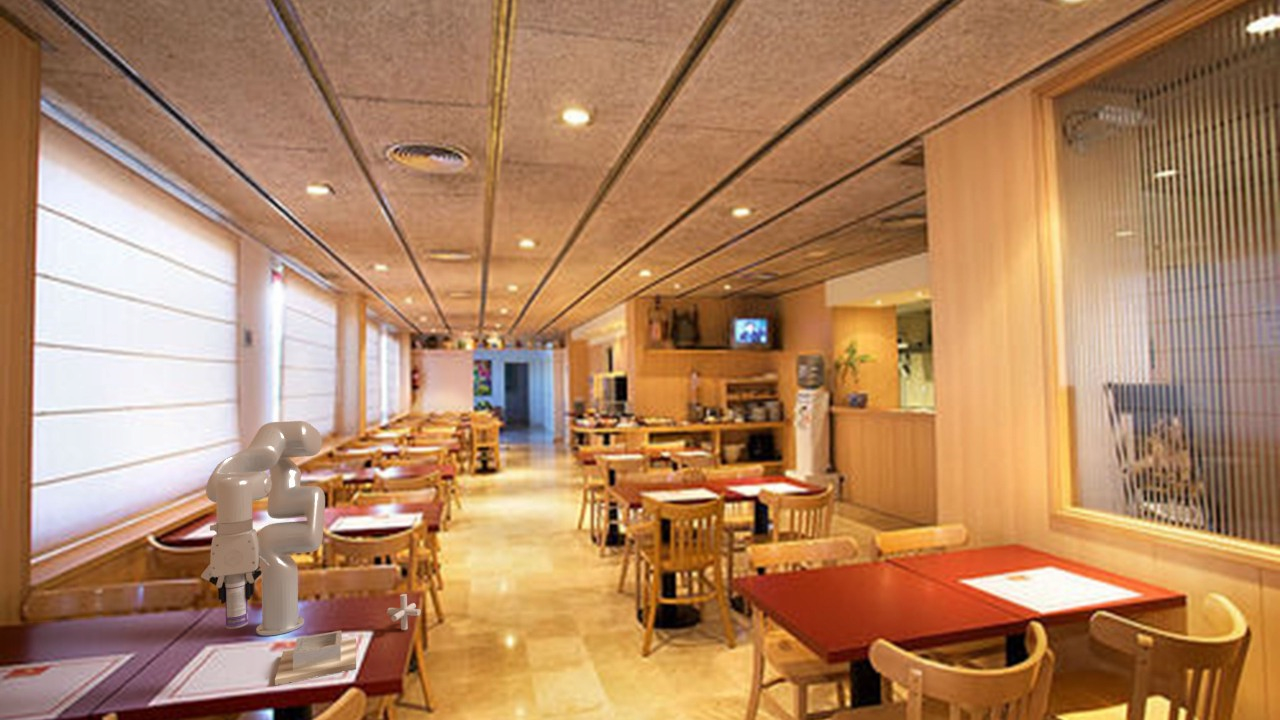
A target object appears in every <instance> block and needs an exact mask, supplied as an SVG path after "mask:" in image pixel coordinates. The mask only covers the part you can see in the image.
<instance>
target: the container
mask: <svg viewBox="0 0 1280 720" xmlns="http://www.w3.org/2000/svg"><path fill="white" fill-rule="evenodd" d="M247 581H248V579H247V576H246V573H244V574H237V575H230V576H225V581H224V582H225V603H224V604H225V628H226V629H228V630H233V629H238V628H243V627H245V626H247V625H248V624H249V600H247V599H246V584H247Z"/></svg>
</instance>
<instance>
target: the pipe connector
mask: <svg viewBox="0 0 1280 720" xmlns="http://www.w3.org/2000/svg"><path fill="white" fill-rule="evenodd" d="M399 600H400V602H399V603H400V607H388V608H387V609H386V610H387V611H386V614H387V615H392V616H391V617H390V619H391V621H392V622H397V621H399V620H400V630H401V631H406V630H408V627H409V626H408V616H413V617H414V616H417V617H418V616H420V615H421V612H422V611H421V609H420V608H416V607H417V605H416V603H414V602H412V603H410V604H408V594H407V593H402V594H400V595H399Z"/></svg>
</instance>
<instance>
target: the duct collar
mask: <svg viewBox="0 0 1280 720" xmlns="http://www.w3.org/2000/svg"><path fill="white" fill-rule="evenodd" d="M342 640H343V639H342V630H335V631H332V632H326V633H320V634H312V635H309V636H303V637H298V638H297V637H296V641H295V644H294V648H293V649H294V652H293V670H297V669H302V668H307V667H312V666H317V665H322V664H327V663H332V662H337V661H341V649H342Z"/></svg>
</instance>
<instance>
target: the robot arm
mask: <svg viewBox="0 0 1280 720" xmlns="http://www.w3.org/2000/svg"><path fill="white" fill-rule="evenodd" d="M322 445H323V439H322V435H321V433H320V432H319V431H318V429H317V428H315V427H314V426H313V425H311V424H310V423H308V422H307V421H304V420H303V421H302V420H293V421H292V420H291V421H290V420H289V421H288V420H287V421H273V422H272V421H271V422H267V423H265V424H263V425H262V426H260V428H259V429H258V430H257V431H256V433H255V435H254V437H253V439H252V441H250V444H249V445H248V447H247V448H246V449H244V450H241V451H239V452H236V453H235V454H232V455H230V456H229V457H227V458H225V459H224V460H222V461H220V463H219V464H217V466H216V467H215V468H214V470H213V471H212V473H211V474H210V476H209V478H208V480H207V482H206V485H205V486H206V487H205V494H206V496H207V498H208V500H209V501H210V502H213V503H216V506H215V507H216V523H214V524H210V525H209V531H212V532H213V531H214V532H215V534H214V535H213V537H212V540H211V548H210V561H209V564H208V566H207V567H206V568H205V570H204V571H203V572H202V574H201V575H200V577H201V579H204V580H205V581H208V582H209V583H210V584H213V585H214V586H215V587H216V588H217V592H218V593H217V595H218V597H217V599H218V601H220V604H221V605H224V604H225V576H230V575H237V574H244V573H246V576H247V584H246V599H247V600H248V601H249V600H251V598H252V596H253V595H255V581H256V580H257V579H258V578H259V577H260V576H261V617H262V618H261V621H262V623H260V624H259V625H258V626H257V627H256V629H255V631H256V632H255V633H256V634H257V635H259V636H277V635H283V634H285V633H286V634H288V633H290V632H294V631H296V630H298V629H299V628H301V627H303V625H305V619H304V617H302V616H299V586H298V584H299V581H298V576H299V575H298V572H299V571H298V570H299V569H298V564H297V562H296V561H295V559H294V558H293V557H292V556H291V555H292V554H294V555H295V554H302V553H303V554H304V553H313V552H315V551H317V550H319V549H320V548H321V546H322V543H323V537H324V536H323V535H324V525H325V524H324V522H325V509H326V496H325V492H324V490H323V489H322V488H321V487H320V486H318V485H307V486H305V485H304V486H303V485H302V486H301V481H302V480H301V479H302V471H301V469H300V468H299V466H298V465H297V464H296V463H295V462H294V461H293V460H292V459H291V458H301V457H313V456H316V455H318V454H319V453H320V452H321V450H322ZM267 470H269V474H268V473H267V472H266V471H267ZM267 495H268V496H267ZM265 497H267V507H266V509H267V514H268V516H269V517H270V518H272V519H276V520H277V519H278V520H281V519H283V520H284V519H296V518H306V520H300V521H299V520H298V521H284V522H275V523H270V524H267V525H264V526H263V527H262V528H261V529H260V530H259V532H258V533H257V530H256V529H255V528H254V527H253V525H254V521H253V519H254V518H253V502H255V501H259V500H262V499H264V498H265ZM259 566H260V568H259Z"/></svg>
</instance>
